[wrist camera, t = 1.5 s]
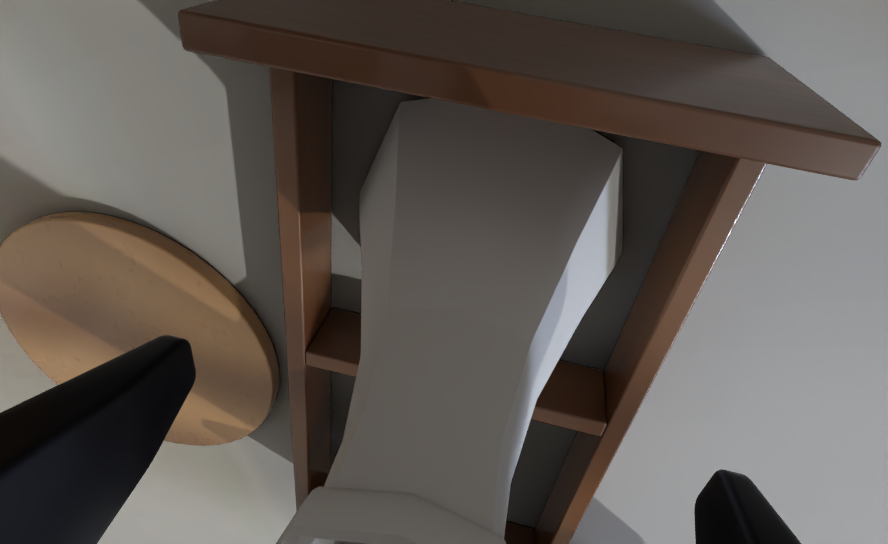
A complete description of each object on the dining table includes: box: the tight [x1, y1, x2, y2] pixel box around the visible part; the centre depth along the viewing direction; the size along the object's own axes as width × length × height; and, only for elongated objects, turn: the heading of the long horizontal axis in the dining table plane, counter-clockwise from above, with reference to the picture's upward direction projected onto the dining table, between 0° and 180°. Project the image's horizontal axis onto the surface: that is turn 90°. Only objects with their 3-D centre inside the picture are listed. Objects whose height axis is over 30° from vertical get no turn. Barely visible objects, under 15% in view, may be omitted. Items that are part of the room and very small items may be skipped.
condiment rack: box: [178, 0, 881, 544], centre depth 15 cm, size 20×10×5 cm, turn 173°
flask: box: [276, 98, 623, 544], centre depth 10 cm, size 7×7×10 cm
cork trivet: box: [0, 212, 279, 446], centre depth 20 cm, size 11×11×1 cm
